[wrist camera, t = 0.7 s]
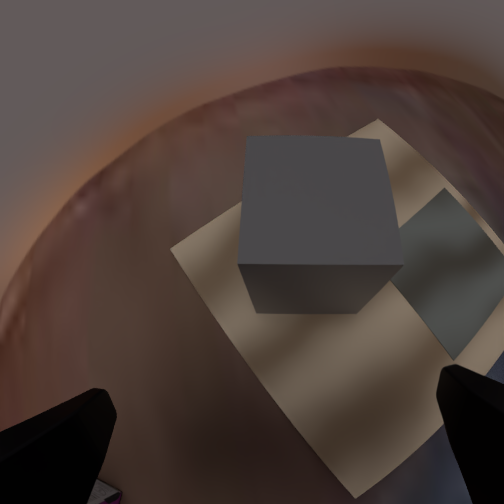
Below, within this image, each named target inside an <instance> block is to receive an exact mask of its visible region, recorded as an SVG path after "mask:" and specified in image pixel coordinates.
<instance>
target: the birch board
mask: <svg viewBox="0 0 504 504" xmlns="http://www.w3.org/2000/svg"><path fill="white" fill-rule="evenodd" d="M348 137H353V138H369V139H380V142H381V146H382V149H383V153H384V158H385V162H386V166H387V170H388V175H389V179H390V184H391V189H392V193H393V198H394V204H395V209H396V214H397V220H398V226H399V232H400V239H401V245H402V252H403V260H404V265H403V267H402V268H401V269H400V270H399V271H398V272H397V273H396V274H395V275H394V276H393V277H392V278H391V279H390V280H389V282H388V283H387V284H386V285H385V286H384V287H383V288H382V289H381V290H380V291H379V292H378V293H377V294H376V295H375V296H374V297H373V298H372V299H371V300H370V301H369V302H368V303H367V304H366V305H365V306H364V307H363V308H362V309H361V310H360V311H359V312H358V313H357V314H259V313H256V312H255V309H254V306H253V304H252V301H251V299H250V296H249V293H248V291H247V288H246V286H245V283H244V280H243V278H242V275H241V272H240V270H239V267H238V265H237V259H238V245H239V232H240V218H241V205H242V202H240V203H238V204H237V205H235V206H234V207H232V208H231V209H229V210H228V211H226V212H225V213H223V214H221V215H220V216H218V217H217V218H215V219H214V220H212V221H211V222H209V223H208V224H206V225H205V226H203V227H202V228H200V229H199V230H197V231H196V232H194V233H193V234H191V235H190V236H188V237H187V238H185V239H184V240H183V241H181V242H180V243H178V244H177V245H175V246H174V247H172V248H171V249H170V250H171V251H172V253H173V254H174V256H175V258H176V259H177V261H178V262H179V264H180V265H181V267H182V269H183V270H184V272H185V273H186V275H187V276H188V278H189V279H190V281H191V282H192V284H193V286H194V287H195V289H196V290H197V292H198V293H199V295H200V296H201V298H202V299H203V301H204V302H205V304H206V305H207V307H208V308H209V310H210V311H211V313H212V314H213V316H214V317H215V319H216V320H217V321H218V323H219V324H220V326H221V327H222V329H223V330H224V332H225V333H226V335H227V336H228V337H229V339H230V340H231V342H232V343H233V345H234V346H235V347H236V349H237V350H238V352H239V353H240V354H241V356H242V357H243V359H244V360H245V361H246V363H247V364H248V366H249V367H250V368H251V370H252V371H253V372H254V374H255V375H256V376H257V378H258V379H259V381H260V382H261V383H262V385H263V386H264V387H265V389H266V390H267V391H268V393H269V394H270V395H271V397H272V398H273V399H274V401H275V402H276V403H277V404H278V406H279V407H280V408H281V410H282V411H283V412H284V414H285V415H286V416H287V417H288V419H289V420H290V421H291V423H292V424H293V425H294V426H295V428H296V429H297V430H298V431H299V433H300V434H301V435H302V436H303V438H304V439H305V440H306V441H307V443H308V444H309V445H310V446H311V448H312V449H313V450H314V451H315V452H316V454H317V455H318V456H319V457H320V458H321V460H322V461H323V462H324V463H325V464H326V466H327V467H328V468H329V469H330V470H331V472H332V473H333V474H334V475H335V476H336V477H337V479H338V480H339V481H340V482H341V483H342V484H343V485H344V487H345V488H346V489H347V490H348V491H349V492H350V493H351V495H352V496H353V497H354V498H355V499H356V498H357V497H359V496H360V495H361V494H363V493H364V492H366V491H367V490H368V489H370V488H371V487H372V486H374V485H375V484H376V483H378V482H379V481H380V480H382V479H383V478H384V477H385V476H387V475H388V474H389V473H390V472H392V471H393V470H394V469H395V468H396V467H398V466H399V465H400V464H401V463H402V462H403V461H405V460H406V459H407V458H408V457H409V456H410V455H411V454H413V453H414V452H415V451H416V450H417V449H418V448H419V447H420V446H421V445H422V444H423V443H424V442H426V441H427V440H428V439H429V438H430V437H431V436H432V435H433V434H434V433H435V432H436V431H437V430H438V429H439V428H440V427H441V426H442V425H443V424H444V422H443V419H442V415H441V412H440V409H439V406H438V403H437V399H436V390H437V385H438V381H439V376H440V372H441V369H442V368H443V367H445V366H448V365H452V364H458V365H460V366H463V367H465V368H467V369H470V370H472V371H474V372H476V373H479V374H481V375H483V376H485V375H486V374H487V372H488V371H489V370H490V369H491V367H492V366H493V365H494V363H495V362H496V360H497V359H498V358H499V356H500V355H501V353H502V352H503V351H504V244H503V243H502V241H501V240H500V239H499V238H498V236H497V235H496V234H495V233H494V231H493V230H492V229H491V228H490V227H489V225H488V224H487V223H486V222H485V221H484V220H483V218H482V217H481V216H480V215H479V214H478V213H477V212H476V210H475V209H474V208H473V207H472V206H471V205H470V204H469V203H468V202H467V201H466V199H465V198H464V197H463V196H462V195H461V194H460V193H459V192H458V191H457V190H456V189H455V188H454V187H453V186H452V185H451V184H450V183H449V182H448V181H447V180H446V179H445V178H444V177H443V176H442V175H441V174H440V173H439V172H438V171H437V170H436V169H435V168H434V167H433V166H432V165H431V164H430V163H429V162H428V161H427V160H426V159H424V158H423V157H422V156H421V155H420V154H419V153H418V152H417V151H416V150H415V149H413V148H412V147H411V146H410V145H409V144H408V143H407V142H405V141H404V140H403V139H402V138H401V137H400V136H398V135H397V134H396V133H395V132H394V131H392V130H391V129H390V128H389V127H388V126H386V125H385V124H384V123H383V122H381V121H380V120H379V119H377V120H376V121H374V122H372V123H370V124H369V125H367V126H365V127H363V128H362V129H360V130H358V131H356V132H355V133H353V134H351V135H349V136H348Z"/></svg>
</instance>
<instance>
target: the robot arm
mask: <svg viewBox="0 0 504 504" xmlns="http://www.w3.org/2000/svg"><path fill="white" fill-rule="evenodd" d="M436 399H437V403H438V406H439V409H440V412H441V415H442V419H443V422H444V425H445V429H446V432H447V436H448V439H449V442H450V445H451V448H452V450H453V453H454V455H455V458H456V460H457V463H458V465H459V468H460V470H461V473H462V476H463V478H464V481H465V484H466V486H467V489H468V492H469V495H470V498H471V500H472V503H473V504H504V384H502V383H500V382H498V381H495V380H493V379H490V378H488V377H486V376H483V375H481V374H479V373H476V372H474V371H472V370H470V369H467V368H465V367H463V366H460V365H458V364H452V365H448V366H445V367H443V368H442V369H441V372H440V376H439V381H438V385H437V390H436ZM116 418H117V413H116V409H115V407H114V405H113V403H112V401H111V398H110V396H109V394H108V392H107V391H106V390H104V389H98V388H92V389H90V390H88V391H86V392H84V393H82V394H80V395H78V396H76V397H74V398H72V399H70V400H68V401H66V402H64V403H61V404H59V405H57V406H55V407H53V408H51V409H49V410H47V411H45V412H43V413H40V414H38V415H36V416H34V417H32V418H30V419H27V420H25V421H23V422H21V423H19V424H16V425H14V426H12V427H10V428H8V429H5V430H3V431H1V432H0V504H87V503H88V500H89V498H90V495H91V492H92V490H93V487H94V485H95V482H96V480H97V477H98V475H99V472H100V470H101V467H102V465H103V462H104V459H105V456H106V453H107V449H108V446H109V442H110V439H111V435H112V432H113V429H114V425H115V422H116Z"/></svg>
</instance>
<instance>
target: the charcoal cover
mask: <svg viewBox="0 0 504 504" xmlns="http://www.w3.org/2000/svg"><path fill="white" fill-rule="evenodd" d="M237 265H238V267H239V270H240V272H241V275H242V278H243V280H244V283H245V286H246V288H247V291H248V293H249V296H250V299H251V301H252V304H253V306H254V309H255V312H256V313H259V314H357V313H358V312H359V311H360V310H361V309H362V308H363V307H364V306H365V305H366V304H367V303H368V302H369V301H370V300H371V299H372V298H373V297H374V296H375V295H376V294H377V293H378V292H379V291H380V290H381V289H382V288H383V287H384V286H385V285H386V284H387V283H388V282H389V280H390V279H391V278H392V277H393V276H394V275H395V274H396V273H397V272H398V271H399V270H400V269H401V268H402V267H403V265H404V260H403V252H402V245H401V239H400V232H399V226H398V220H397V214H396V209H395V204H394V198H393V193H392V189H391V184H390V179H389V175H388V170H387V166H386V162H385V158H384V153H383V149H382V146H381V142H380V139H369V138H353V137H332V136H247V142H246V154H245V166H244V179H243V192H242V205H241V218H240V232H239V245H238V259H237Z"/></svg>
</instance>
